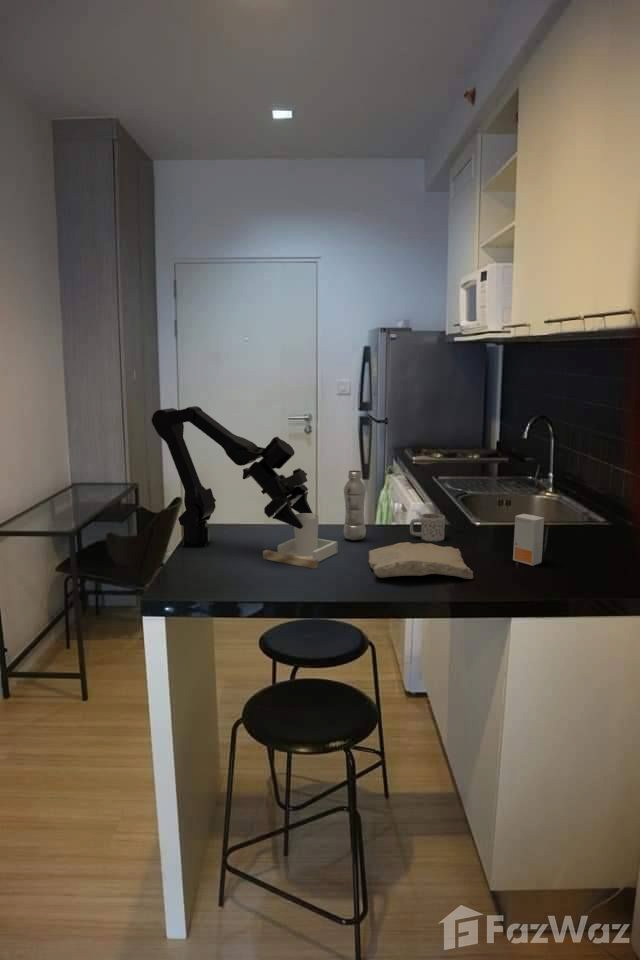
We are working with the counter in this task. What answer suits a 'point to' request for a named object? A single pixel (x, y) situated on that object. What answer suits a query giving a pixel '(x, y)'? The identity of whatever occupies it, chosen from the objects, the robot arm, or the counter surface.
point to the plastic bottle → (354, 507)
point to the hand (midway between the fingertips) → (307, 523)
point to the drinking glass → (306, 534)
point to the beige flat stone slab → (418, 560)
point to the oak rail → (290, 559)
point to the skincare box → (528, 539)
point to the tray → (323, 551)
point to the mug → (430, 527)
